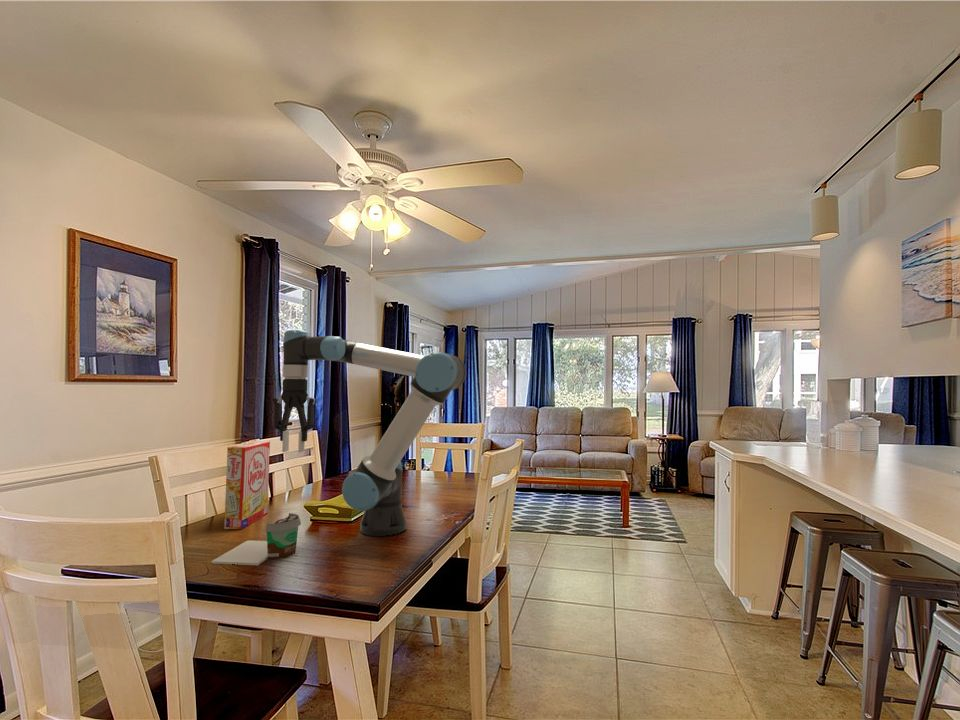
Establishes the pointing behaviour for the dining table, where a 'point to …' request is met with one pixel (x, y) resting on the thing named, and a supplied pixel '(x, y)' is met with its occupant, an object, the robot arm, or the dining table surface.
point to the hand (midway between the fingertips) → (293, 451)
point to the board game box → (246, 484)
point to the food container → (282, 537)
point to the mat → (245, 554)
